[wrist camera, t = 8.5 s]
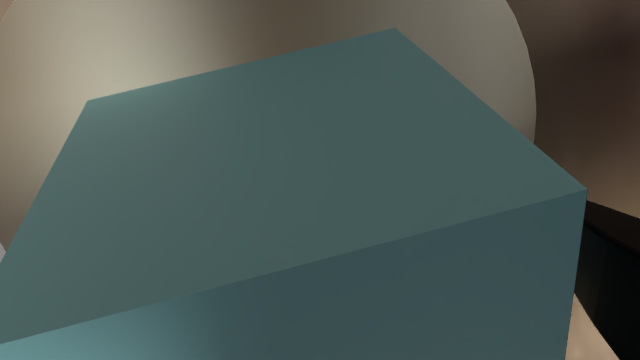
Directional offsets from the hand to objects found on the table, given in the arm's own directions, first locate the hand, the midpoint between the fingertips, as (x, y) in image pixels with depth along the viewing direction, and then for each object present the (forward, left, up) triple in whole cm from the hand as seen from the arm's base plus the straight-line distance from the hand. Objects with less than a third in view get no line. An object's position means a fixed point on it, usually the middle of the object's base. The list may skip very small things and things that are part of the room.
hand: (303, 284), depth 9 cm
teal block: (0, 0, -3) cm, 3 cm away
